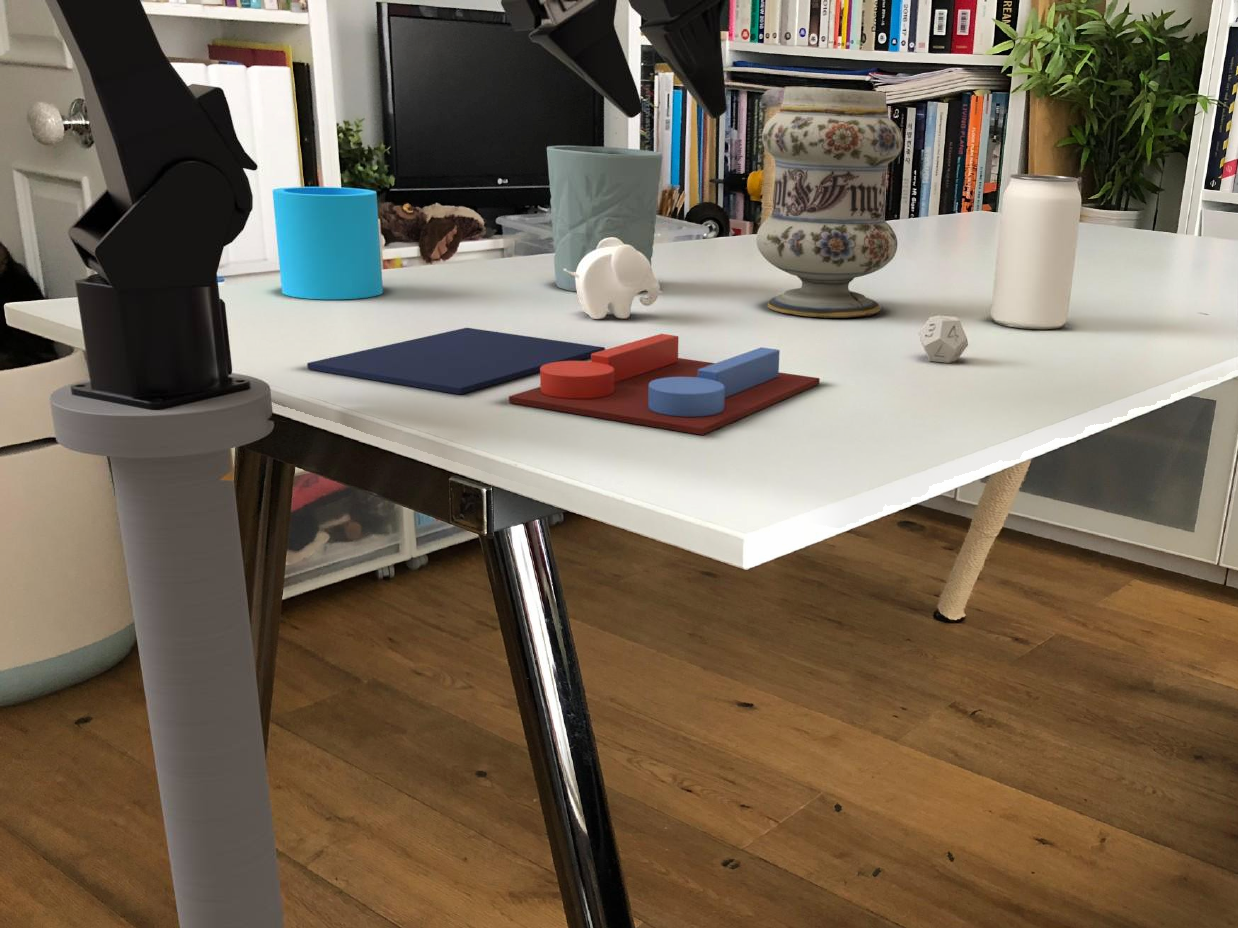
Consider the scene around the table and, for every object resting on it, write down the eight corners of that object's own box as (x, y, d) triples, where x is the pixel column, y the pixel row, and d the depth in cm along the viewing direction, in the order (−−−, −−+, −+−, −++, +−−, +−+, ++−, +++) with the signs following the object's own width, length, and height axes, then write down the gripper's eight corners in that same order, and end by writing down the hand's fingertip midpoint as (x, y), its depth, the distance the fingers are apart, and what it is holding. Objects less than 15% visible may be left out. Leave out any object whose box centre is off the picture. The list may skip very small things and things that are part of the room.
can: (1072, 332, 109) (1091, 181, 105) (995, 328, 109) (1011, 177, 105) (1059, 319, 115) (1076, 176, 111) (985, 315, 115) (999, 172, 111)
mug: (391, 298, 109) (385, 196, 106) (287, 300, 106) (278, 195, 103) (367, 277, 119) (360, 183, 116) (271, 279, 116) (262, 182, 113)
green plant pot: (546, 277, 124) (543, 144, 119) (652, 278, 126) (653, 147, 122) (554, 294, 115) (551, 150, 110) (668, 295, 117) (670, 154, 113)
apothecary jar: (885, 301, 120) (900, 91, 113) (899, 323, 109) (916, 92, 102) (753, 295, 120) (761, 84, 113) (754, 317, 108) (762, 85, 102)
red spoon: (588, 403, 76) (588, 372, 76) (525, 392, 78) (524, 362, 77) (698, 365, 88) (698, 338, 87) (641, 357, 89) (641, 330, 89)
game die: (951, 354, 98) (955, 313, 96) (974, 364, 94) (979, 322, 93) (908, 355, 96) (912, 314, 95) (930, 365, 93) (934, 323, 92)
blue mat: (460, 394, 78) (460, 388, 78) (307, 369, 83) (306, 363, 83) (605, 353, 92) (605, 347, 92) (466, 333, 97) (466, 327, 96)
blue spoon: (701, 421, 73) (702, 389, 73) (633, 410, 75) (634, 379, 74) (799, 380, 85) (801, 352, 84) (739, 371, 86) (740, 344, 86)
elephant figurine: (672, 323, 104) (673, 246, 102) (572, 324, 102) (571, 246, 99) (651, 308, 110) (651, 236, 108) (556, 309, 108) (555, 235, 105)
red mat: (702, 435, 72) (702, 428, 72) (508, 402, 77) (508, 396, 77) (819, 384, 86) (819, 378, 86) (648, 359, 91) (648, 353, 91)
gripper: (760, -237, 69) (860, 47, 79) (578, -181, 83) (682, 56, 92) (607, -144, 65) (731, 143, 75) (442, -101, 79) (564, 138, 88)
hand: (676, 115), depth 82 cm, fingers open, 9 cm apart
